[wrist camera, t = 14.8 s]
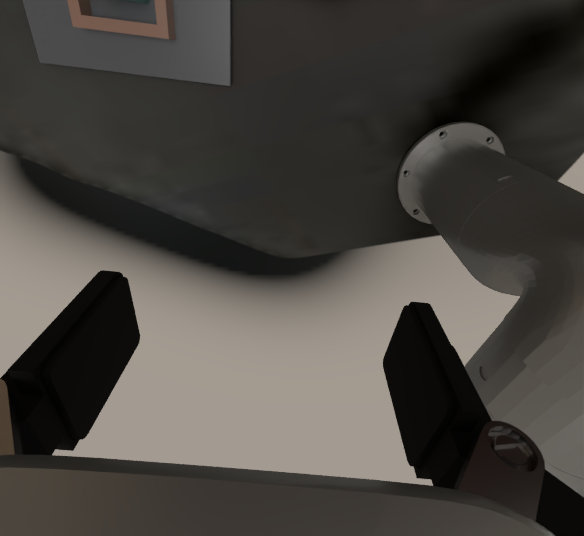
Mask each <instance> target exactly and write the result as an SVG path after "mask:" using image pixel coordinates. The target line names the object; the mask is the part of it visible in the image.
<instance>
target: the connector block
mask: <svg viewBox="0 0 584 536" xmlns="http://www.w3.org/2000/svg"><path fill="white" fill-rule="evenodd" d="M118 1H126V2H135V3H143V4H149V0H118Z"/></svg>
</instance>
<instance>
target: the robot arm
mask: <svg viewBox="0 0 584 536" xmlns="http://www.w3.org/2000/svg"><path fill="white" fill-rule="evenodd" d="M440 132H442V135H440V136H439V134H440ZM487 138H488V140H487ZM486 140H487V141H486ZM405 170H407V172H406V173H403V172H404V171H405ZM396 184H397V194H398V197H399V200H400V202H401V204H402V206H403V207H404V209H405V210H406V211H407V213H409V214H410V215H411V216H412V217H413V218H415V219H417V220H419V221H420V222H424V223H427V224H433V225H434V227H435V228H436V229H437V231H438V232H439V233H440V235H441V236H442V237H443V238H444V240H445V241H446V242H447V243H448V245H449V246H450V248H451V249H452V250H453V252H454V253H455V254H456V255H457V256H458V258H459V259H460V261H461V262H462V263H463V265H464V266H465V267H466V268H467V269H468V271H469V272H470V273H471V274H472V276H473V277H474V278H475V279H477V280H478V281H479V282H481V283H482V284H483V285H485V286H487V287H489V288H491V289H493V290H495V291H498V292H501V293H505V294H510V295H516V296H520V298H519V300H518V301H517V303H516V304H515V305H514V307H513V308H512V309H511V310H510V311H509V313H508V314H507V315H506V316H505V318H504V320H503V321H502V322H501V324H500V325H499V326H498V327H497V328H496V329H495V331H494V332H493V333H492V334H491V335H490V337H489V338H488V339H487V340H486V341H485V342H484V343H483V345H482V346H481V347H480V348H479V350H478V351H477V352H476V353H475V354H474V355H473V357H472V358H471V359H470V360H469V362H468V363H467V364H466V365H465V367H464V365H463V364H462V362H461V359H460V358H459V356H458V354H457V352H456V350H455V348H454V347H453V346H452V345H451V344H450V342H449V340H448V338H447V336H446V334H445V332H444V330H443V328H442V327H441V324H440V322H439V320H438V319H437V317H436V315H435V313H434V311H433V309H432V307H431V305H430V304H428V303H420V302H411V303H410V304H409V306H407V305H406V306H404V308H403V310H402V313H401V315H400V318H399V320H398V323H397V326H396V328H395V331H394V333H393V335H392V338H391V341H390V343H389V346H388V348H387V351H386V353H385V356H384V359H383V368H384V372H385V376H386V380H387V384H388V388H389V391H390V395H391V399H392V403H393V407H394V411H395V415H396V419H397V422H398V426H399V430H400V433H401V438H402V442H403V445H404V449H405V453H406V457H407V461H408V463H409V465H410V466H414V469H415V473H416V476H417V478H422V479H431V480H432V483H433V486H429V485H419V484H409V483H400V482H390V481H380V480H369V479H357V478H346V477H334V476H322V475H310V474H298V473H285V472H274V471H260V470H248V469H236V468H223V467H211V466H198V465H184V464H171V463H158V462H144V461H131V460H118V459H104V458H88V457H71V456H53V455H52V454H53V452H54V450H55V449H59V450H72V451H73V450H74V448H75V446H76V445H77V443H78V441H79V440H80V439H84V438H85V437H86V436H87V434H88V433H89V431H90V429H91V428H92V426H93V424H94V422H95V420H96V419H97V417H98V415H99V413H100V412H101V410H102V408H103V406H104V405H105V403H106V401H107V399H108V397H109V396H110V394H111V392H112V390H113V388H114V387H115V385H116V383H117V381H118V379H119V378H120V376H121V374H122V372H123V371H124V369H125V367H126V365H127V364H128V362H129V360H130V358H131V356H132V355H133V353H134V351H135V349H136V348H137V346H138V344H139V340H140V333H139V329H138V324H137V320H136V315H135V310H134V306H133V301H132V296H131V292H130V287H129V283H128V279H127V278H126V277H123V275H122V274H121V273H120V272H113V271H100V272H98V273H97V275H96V276H95V277H94V278H93V279H92V280H91V281H90V282H89V283H88V284H87V285H86V286H85V287H84V289H83V290H82V291H81V292H80V293H79V294H78V295H77V296H76V297H75V298H74V299H73V300H72V301H71V303H70V304H69V305H68V306H67V307H66V308H65V309H64V310H63V311H62V312H61V313H60V314H59V315H58V317H57V318H56V319H55V320H54V321H53V322H52V323H51V324H50V325H49V326H48V327H47V328H46V329H45V331H44V332H43V333H42V334H41V335H40V336H39V337H38V338H37V339H36V340H35V341H34V342H33V343H32V344H31V346H30V347H29V348H28V349H27V350H26V351H25V352H24V353H23V354H22V355H21V356H20V357H19V358H18V360H17V361H16V362H15V363H14V364H13V365H12V366H11V367H10V368H9V369H8V371H7V372H6V373H5V374H4V375H3V376H2V377H1V378H0V536H584V194H582V193H580V192H578V191H576V190H574V189H572V188H570V187H568V186H566V185H564V184H562V183H560V182H558V181H556V180H554V179H552V178H550V177H548V176H546V175H544V174H542V173H540V172H538V171H536V170H534V169H532V168H530V167H528V166H526V165H524V164H522V163H520V162H518V161H516V160H514V159H512V158H510V157H508V156H506V155H505V151H504V148H503V145H502V143H501V141H500V140H499V138H498V137H497V135H495V134H494V133H493V132H492V131H491V130H490V129H488V128H486V127H484V126H482V125H479V124H476V123H472V122H452V123H449V124H445V125H442V126H439V127H437V128H435V129H433V130H431V131H430V132H428V133H427V134H425V135H424V136H422V137H421V138H420V139H419V140H418V141H417V142H416V143H415V144H414V145H413V146H412V147H411V148H410V150H409V151H408V152H407V153H406V155H405V157H404V159H403V161H402V163H401V165H400V168H399V171H398V175H397V182H396ZM415 209H416V210H415ZM414 210H415V211H414Z"/></svg>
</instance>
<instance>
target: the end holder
mask: <svg viewBox="0 0 584 536" xmlns="http://www.w3.org/2000/svg"><path fill="white" fill-rule="evenodd" d="M23 3H24V7H25V11H26V14H27V18H28V21H29V25H30V29H31V32H32V36H33V39H34V43H35V47H36V50H37V54H38V57H39V61H40V63H48V64H56V65H64V66H72V67H80V68H88V69H96V70H104V71H113V72H121V73H129V74H137V75H145V76H153V77H161V78H169V79H177V80H185V81H193V82H201V83H210V84H218V85H226V86H231V85H232V0H149V4H143V3H135V2H126V1H118V0H23Z"/></svg>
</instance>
